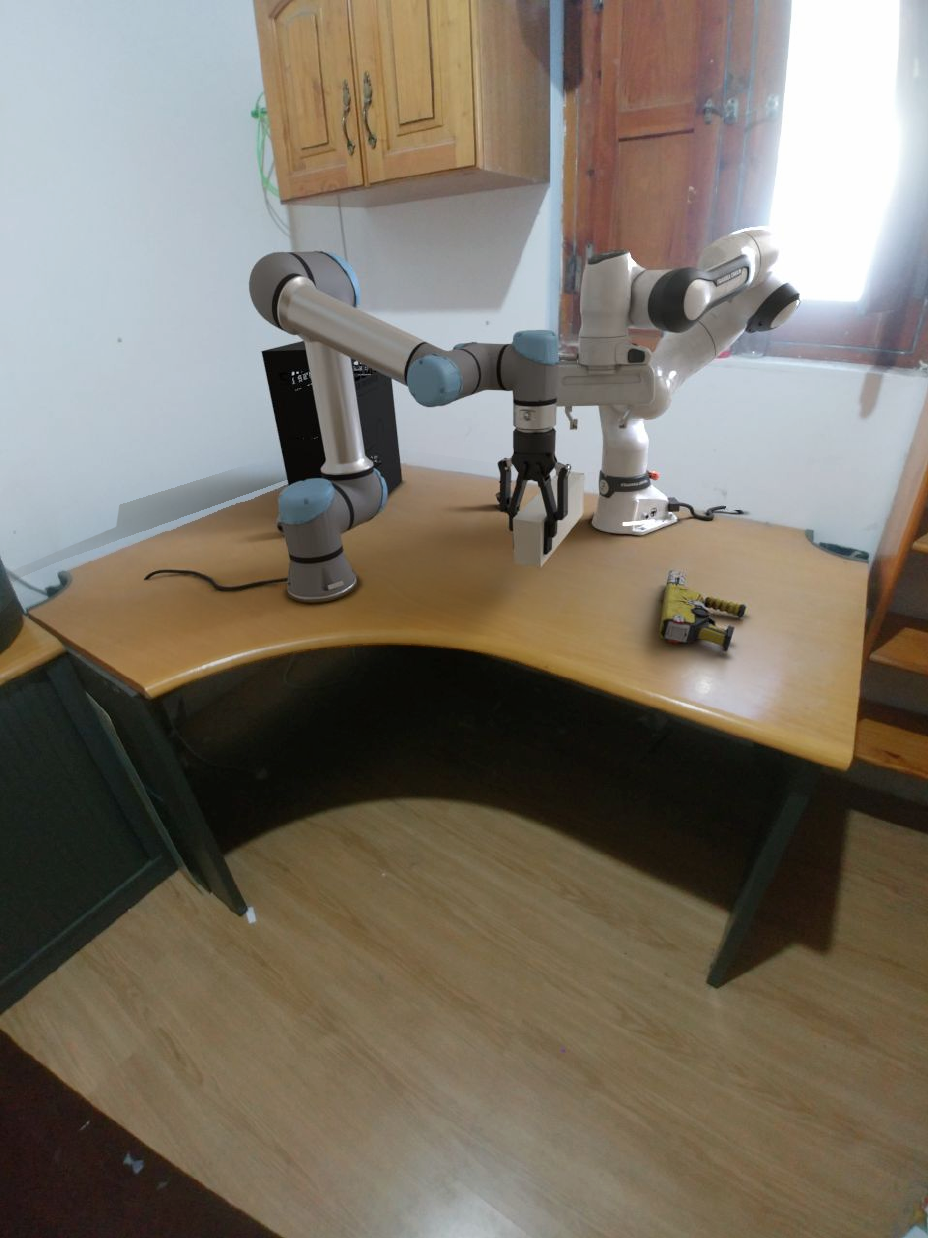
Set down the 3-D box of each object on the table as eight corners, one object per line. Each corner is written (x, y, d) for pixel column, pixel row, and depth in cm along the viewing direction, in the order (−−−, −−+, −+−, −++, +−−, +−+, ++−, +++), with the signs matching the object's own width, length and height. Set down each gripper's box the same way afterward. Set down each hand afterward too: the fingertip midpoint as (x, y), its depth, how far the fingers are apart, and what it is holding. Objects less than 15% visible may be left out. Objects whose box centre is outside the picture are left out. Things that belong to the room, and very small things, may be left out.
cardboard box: (360, 522, 170) (335, 348, 148) (295, 519, 175) (261, 351, 152) (402, 481, 202) (386, 333, 179) (346, 480, 206) (324, 335, 184)
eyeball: (273, 537, 164) (268, 516, 161) (287, 528, 169) (282, 508, 166) (291, 539, 161) (286, 518, 158) (305, 530, 166) (301, 510, 163)
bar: (559, 511, 136) (559, 470, 131) (583, 514, 134) (584, 473, 128) (514, 563, 118) (512, 518, 113) (540, 567, 116) (540, 522, 110)
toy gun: (745, 580, 121) (669, 567, 125) (754, 637, 101) (663, 618, 105) (739, 601, 124) (664, 587, 127) (746, 660, 103) (657, 641, 107)
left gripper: (477, 428, 107) (481, 549, 119) (578, 436, 99) (571, 564, 111) (495, 419, 113) (497, 535, 124) (592, 426, 105) (584, 549, 116)
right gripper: (545, 356, 111) (544, 433, 118) (660, 352, 108) (652, 431, 115) (546, 352, 116) (545, 426, 123) (656, 348, 113) (648, 424, 120)
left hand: (532, 549), depth 118 cm, fingers closed on bar, 6 cm apart
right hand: (597, 428), depth 119 cm, fingers open, 8 cm apart
